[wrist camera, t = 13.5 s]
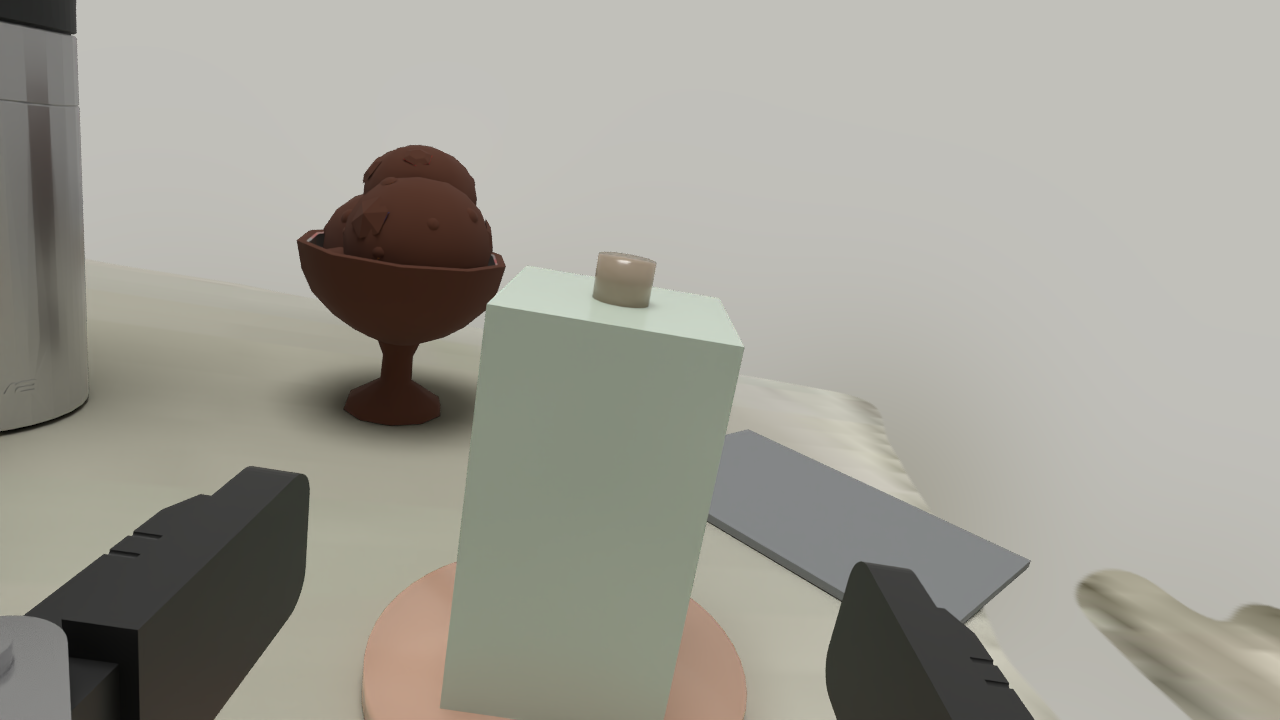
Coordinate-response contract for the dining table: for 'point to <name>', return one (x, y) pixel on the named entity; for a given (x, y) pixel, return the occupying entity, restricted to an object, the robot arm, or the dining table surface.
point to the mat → (848, 527)
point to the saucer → (411, 716)
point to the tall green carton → (586, 492)
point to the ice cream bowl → (404, 271)
